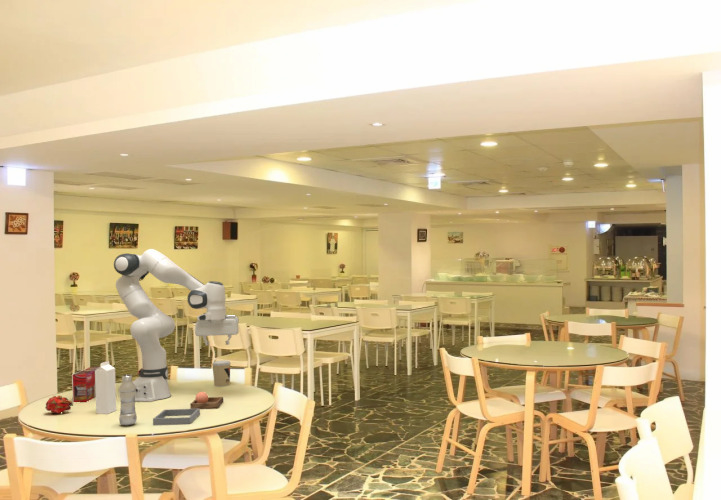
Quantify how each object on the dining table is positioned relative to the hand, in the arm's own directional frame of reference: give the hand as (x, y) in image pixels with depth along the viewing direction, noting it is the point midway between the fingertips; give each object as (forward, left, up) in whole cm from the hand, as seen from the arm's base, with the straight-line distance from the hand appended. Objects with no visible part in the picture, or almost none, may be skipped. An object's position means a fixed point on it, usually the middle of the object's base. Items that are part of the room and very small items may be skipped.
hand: (217, 344), depth 299 cm
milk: (-45, -21, -25) cm, 56 cm away
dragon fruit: (-66, -20, -25) cm, 74 cm away
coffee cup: (-5, +30, -25) cm, 40 cm away
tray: (-2, -15, -25) cm, 29 cm away
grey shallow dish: (-9, -38, -25) cm, 46 cm away
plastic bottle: (-27, -44, -25) cm, 57 cm away
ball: (-4, -15, -22) cm, 27 cm away
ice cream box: (-66, +10, -25) cm, 71 cm away
